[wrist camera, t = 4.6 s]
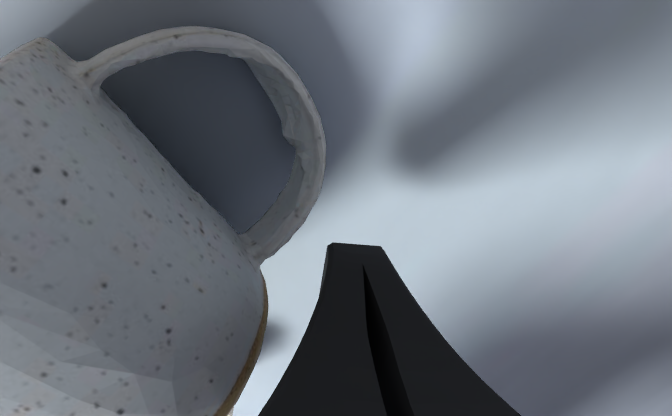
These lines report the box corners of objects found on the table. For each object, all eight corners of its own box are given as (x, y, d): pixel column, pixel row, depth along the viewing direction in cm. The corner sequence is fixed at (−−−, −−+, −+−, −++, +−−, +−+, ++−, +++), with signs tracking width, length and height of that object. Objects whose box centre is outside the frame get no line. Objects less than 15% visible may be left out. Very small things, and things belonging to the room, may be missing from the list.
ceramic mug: (130, 326, 17) (29, 589, 11) (-104, 165, 13) (-491, 433, 7) (381, 173, 14) (450, 408, 8) (182, -97, 10) (-18, -69, 4)
